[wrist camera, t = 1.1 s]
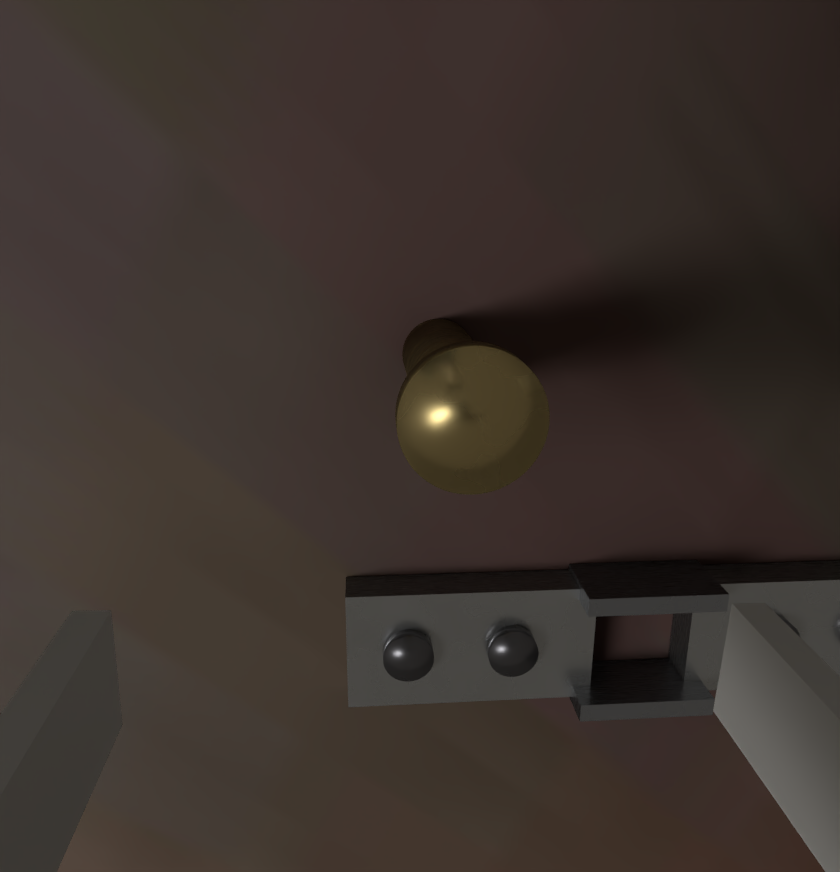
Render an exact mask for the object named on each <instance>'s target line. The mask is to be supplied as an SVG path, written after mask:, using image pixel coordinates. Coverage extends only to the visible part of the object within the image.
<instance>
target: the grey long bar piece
mask: <svg viewBox="0 0 840 872" xmlns="http://www.w3.org/2000/svg"><path fill="white" fill-rule="evenodd" d="M345 601H346V636H347V672H348V707H362V706H383V705H404V704H426V703H447V702H468V701H490V700H511V699H532V698H554V697H570V700H571V702H572V704H573V707H574V709H575V711H576V714H577V716H578V718H579V721H599V720H619V719H639V718H660V717H680V716H700V715H712V714H713V707H714V700H715V699H714V698H713V696H712V695H711V693H710V692H709V691H708V690H717V686H718V680H719V675H720V669H721V663H722V658H723V652H724V646H725V640H726V635H727V629H728V623H729V618H730V612H731V606H732V604H734V603H766V604H767V605H768V606H769V607H770V608H771V609H772V610H773V611H774V612H775V613H776V614H777V615H778V616H779V617H780V618H781V619H782V620H783V621H784V622H785V623H786V624H787V625H788V626H789V627H790V628H791V629H792V630H793V631H794V632H795V633H796V634H797V635H798V636H799V637H800V638H801V639H802V640H803V641H804V642H805V643H806V644H807V645H808V646H809V647H810V648H811V649H812V650H813V651H815V652H816V653H817V654H818V655H819V656H820V657H821V658H822V659H823V660H824V661H825V662H826V663H827V664H828V665H829V666H830V667H831V668H832V669H833V670H834V671H835V672H836V673H837V674H838V675H839V676H840V560H838V561H808V562H779V563H749V564H719V565H701V564H700V563H699V561H698V560H680V561H650V562H619V563H589V564H569V570H542V571H512V572H482V573H453V574H423V575H393V576H364V577H346V594H345ZM650 614H673V622H672V631H671V639H670V648H669V656H668V658H663V659H640V660H617V661H594V662H592V659H593V647H594V635H595V623H596V617H599V616H624V615H650Z"/></svg>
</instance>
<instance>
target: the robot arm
mask: <svg viewBox="0 0 840 872" xmlns="http://www.w3.org/2000/svg"><path fill="white" fill-rule="evenodd" d="M713 711H714V712H715V714H716V715H717V717H718V718H719V720H720V721H721V723H722V724H723V725H724V727H725V728H726V730H727V731H728V733H729V734H730V735H731V737H732V738H733V740H734V741H735V743H736V744H737V745H738V747H739V748H740V750H741V751H742V753H743V754H744V756H745V757H746V758H747V760H748V761H749V763H750V764H751V766H752V767H753V768H754V770H755V771H756V773H757V774H758V776H759V777H760V779H761V780H762V781H763V783H764V784H765V786H766V787H767V789H768V790H769V791H770V793H771V794H772V796H773V797H774V799H775V800H776V801H777V803H778V804H779V806H780V807H781V809H782V810H783V812H784V813H785V814H786V816H787V817H788V819H789V820H790V822H791V823H792V824H793V826H794V827H795V829H796V830H797V832H798V833H799V835H800V836H801V837H802V839H803V840H804V842H805V843H806V845H807V846H808V847H809V849H810V850H811V852H812V853H813V855H814V856H815V857H816V859H817V860H818V862H819V863H820V865H821V866H822V868H823V869H824V870H825V872H840V676H839V675H838V674H837V673H836V672H835V671H834V670H833V669H832V668H831V667H830V666H829V665H828V664H827V663H826V662H825V661H824V660H823V659H822V658H821V657H820V656H819V655H818V654H817V653H816V652H815V651H813V650H812V649H811V648H810V647H809V646H808V645H807V644H806V643H805V642H804V641H803V640H802V639H801V638H800V637H799V636H798V635H797V634H796V633H795V632H794V631H793V630H792V629H791V628H790V627H789V626H788V625H787V624H786V623H785V622H784V621H783V620H782V619H781V618H780V617H779V616H778V615H777V614H776V613H775V612H774V611H773V610H772V609H771V608H770V607H769V606H768V605H767V604H766V603H734V604H732V606H731V612H730V618H729V623H728V629H727V635H726V640H725V646H724V652H723V658H722V663H721V669H720V675H719V680H718V686H717V692H716V697H715V703H714V709H713ZM122 725H123V724H122V714H121V704H120V694H119V684H118V674H117V664H116V654H115V644H114V634H113V624H112V614H111V610H104V611H72V612H71V613H70V615H69V616H68V618H67V619H66V620H65V622H64V623H63V625H62V626H61V628H60V629H59V631H58V632H57V633H56V635H55V636H54V638H53V639H52V641H51V642H50V644H49V645H48V646H47V648H46V649H45V651H44V652H43V654H42V655H41V657H40V658H39V659H38V661H37V662H36V664H35V665H34V667H33V668H32V670H31V671H30V672H29V674H28V675H27V677H26V678H25V680H24V681H23V683H22V684H21V685H20V687H19V688H18V690H17V691H16V693H15V694H14V696H13V697H12V698H11V700H10V701H9V703H8V704H7V706H6V707H5V709H4V710H3V711H2V713H1V714H0V872H57V870H58V868H59V866H60V863H61V861H62V859H63V857H64V854H65V852H66V850H67V848H68V845H69V843H70V841H71V839H72V837H73V834H74V832H75V830H76V828H77V825H78V823H79V821H80V819H81V816H82V814H83V812H84V810H85V807H86V805H87V803H88V801H89V798H90V796H91V794H92V792H93V790H94V787H95V785H96V783H97V781H98V778H99V776H100V774H101V772H102V769H103V767H104V765H105V763H106V760H107V758H108V756H109V754H110V751H111V749H112V747H113V745H114V743H115V740H116V738H117V736H118V734H119V731H120V729H121V727H122Z"/></svg>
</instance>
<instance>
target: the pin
mask: <svg viewBox="0 0 840 872" xmlns="http://www.w3.org/2000/svg"><path fill="white" fill-rule="evenodd" d="M403 362H404V366H405V370H406V373H407V377H406V378H405V380H404V382H403V384H402V386H401V389H400V392H399V394H398V398H397V403H396V412H395V418H396V428H397V434H398V438H399V443H400V446H401V449H402V451H403V454H404V455H405V457H406V459H407V461H408V462H409V464H410V465H411V467H412V468H413V469H414V470H415V471H416V472H417V473H418V474H419V475H420V476H421V477H422V478H423V479H425V480H426V481H427V482H429V483H431V484H432V485H434V486H436V487H438V488H440V489H443V490H446V491H449V492H452V493H458V494H482V493H487V492H491V491H494V490H497V489H500V488H502V487H504V486H506V485H508V484H510V483H512V482H513V481H515V480H516V479H518V478H519V477H520V476H521V475H523V474H524V473H525V472H526V471H527V470H528V469H529V468H530V467H531V466H532V464H533V463H534V462H535V460H536V459H537V458H538V456H539V454H540V452H541V450H542V448H543V446H544V443H545V441H546V438H547V434H548V429H549V406H548V401H547V397H546V394H545V391H544V389H543V387H542V385H541V383H540V381H539V380H538V378H537V377H536V375H535V374H534V373H533V372H532V371H531V369H530V368H529V367H528V366H527V365H526V364H525V363H524V362H522V361H521V360H520V359H519V358H518V357H517V356H516V355H514V354H513V353H511V352H510V351H508V350H506V349H504V348H502V347H500V346H497V345H494V344H491V343H487V342H482V341H473V340H472V339H471V337H470V336H469V335H468V334H467V333H466V331H465V330H464V329H463V328H462V327H461V326H459V325H458V324H456V323H454V322H452V321H450V320H446V319H431V320H428V321H425V322H423V323H421V324H419V325H418V326H416V327H415V328H414V329H413V330H412V331H411V332H410V334H409V335H408V337H407V338H406V340H405V343H404V347H403Z"/></svg>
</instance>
